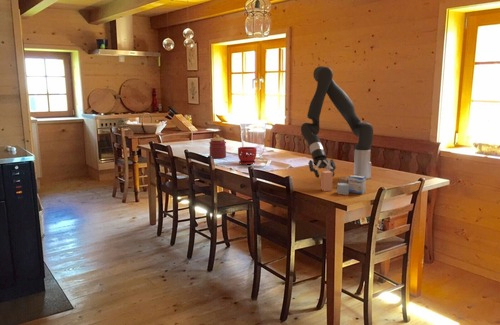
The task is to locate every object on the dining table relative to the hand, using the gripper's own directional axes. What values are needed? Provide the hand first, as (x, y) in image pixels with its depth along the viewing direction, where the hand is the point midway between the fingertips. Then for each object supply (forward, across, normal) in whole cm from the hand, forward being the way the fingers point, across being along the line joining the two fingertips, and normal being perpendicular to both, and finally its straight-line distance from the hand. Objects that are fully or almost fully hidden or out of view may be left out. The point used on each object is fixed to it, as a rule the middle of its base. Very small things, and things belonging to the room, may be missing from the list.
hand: (325, 176), depth 229 cm
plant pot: (-54, -22, +65) cm, 87 cm away
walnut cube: (+4, +13, +6) cm, 15 cm away
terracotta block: (+6, 0, +4) cm, 7 cm away
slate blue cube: (+12, +5, -2) cm, 13 cm away
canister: (-78, -37, +89) cm, 124 cm away
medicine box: (+12, +13, -2) cm, 18 cm away
